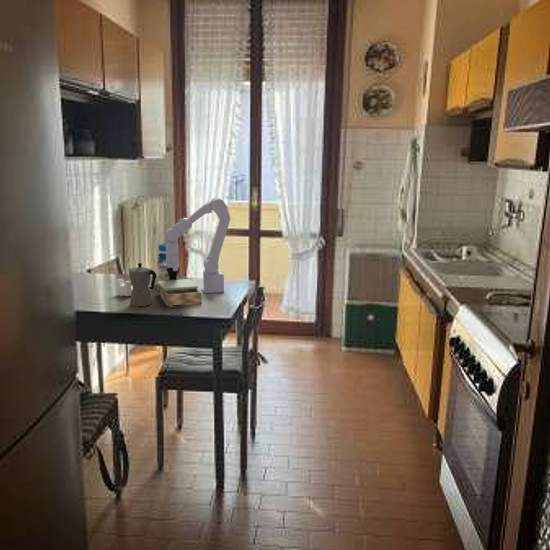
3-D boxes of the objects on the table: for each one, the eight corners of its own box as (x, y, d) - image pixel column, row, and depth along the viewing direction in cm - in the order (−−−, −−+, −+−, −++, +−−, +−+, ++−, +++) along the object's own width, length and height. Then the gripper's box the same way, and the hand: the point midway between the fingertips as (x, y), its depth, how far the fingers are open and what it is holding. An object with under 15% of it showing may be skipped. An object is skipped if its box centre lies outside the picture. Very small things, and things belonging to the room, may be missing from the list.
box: (193, 295, 250) (193, 285, 249) (201, 303, 237) (201, 292, 236) (160, 298, 245) (160, 287, 244) (167, 306, 231) (166, 295, 230)
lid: (189, 287, 257) (189, 278, 256) (197, 295, 242) (197, 286, 242) (157, 290, 252) (157, 280, 251) (164, 298, 237) (163, 288, 236)
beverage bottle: (176, 282, 277) (175, 243, 273) (173, 285, 269) (172, 245, 265) (159, 281, 277) (158, 243, 273) (156, 285, 269) (155, 245, 265)
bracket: (126, 298, 245) (126, 282, 243) (117, 295, 249) (117, 279, 248) (150, 293, 254) (150, 277, 253) (141, 290, 259) (141, 275, 257)
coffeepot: (121, 304, 234) (120, 263, 230) (137, 299, 242) (135, 259, 238) (149, 309, 226) (148, 267, 223) (164, 304, 234) (163, 263, 231)
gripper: (160, 252, 257) (161, 280, 260) (166, 257, 244) (167, 287, 247) (175, 251, 260) (176, 279, 263) (182, 256, 247) (182, 286, 249)
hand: (173, 283), depth 255 cm, fingers closed
